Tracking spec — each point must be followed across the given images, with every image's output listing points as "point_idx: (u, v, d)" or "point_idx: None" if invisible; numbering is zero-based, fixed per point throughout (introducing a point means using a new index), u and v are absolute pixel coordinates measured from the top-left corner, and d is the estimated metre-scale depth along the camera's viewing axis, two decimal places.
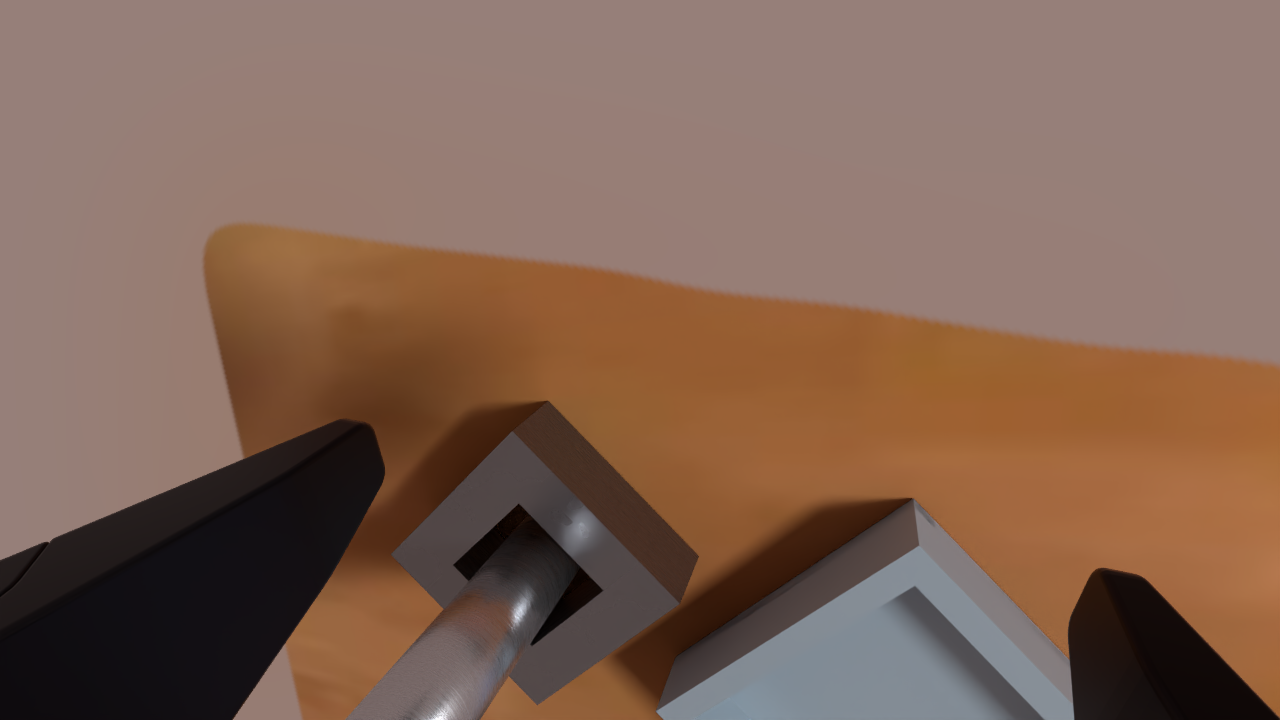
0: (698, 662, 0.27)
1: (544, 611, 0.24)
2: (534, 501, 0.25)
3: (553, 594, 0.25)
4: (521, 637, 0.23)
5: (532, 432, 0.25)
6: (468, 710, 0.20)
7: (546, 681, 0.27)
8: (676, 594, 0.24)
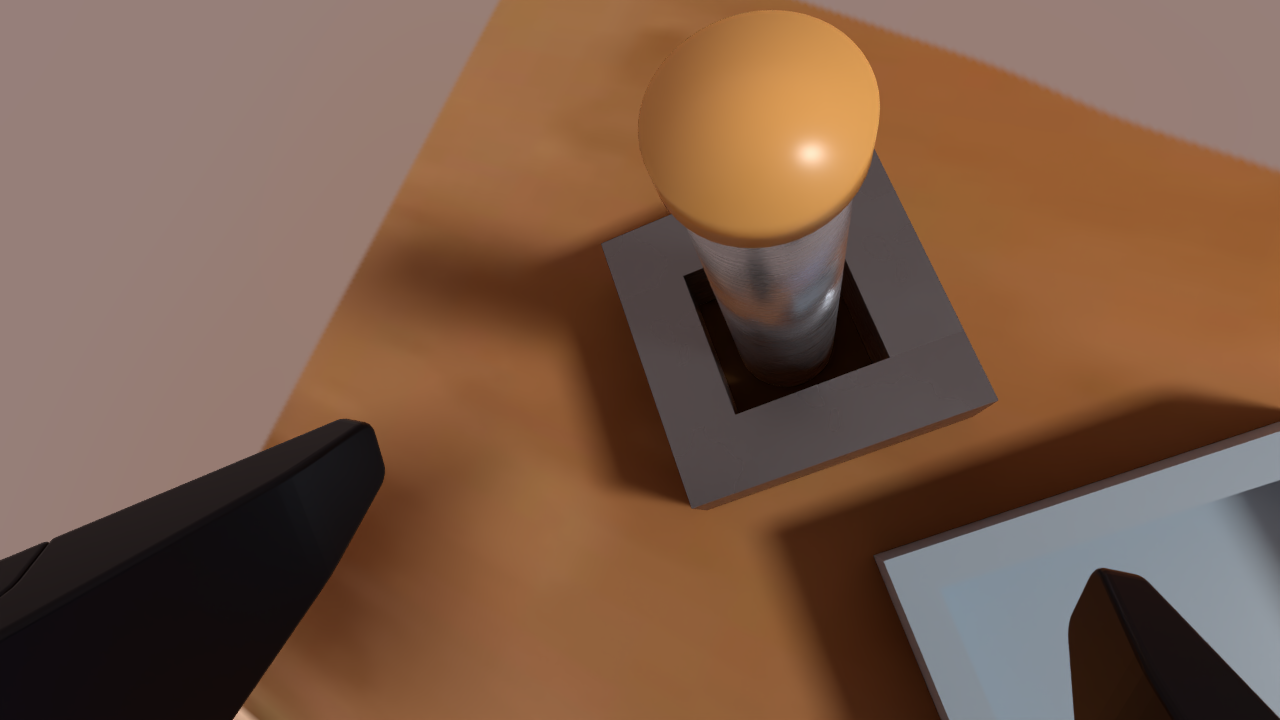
0: (945, 536, 0.19)
1: (833, 320, 0.18)
2: (850, 219, 0.20)
3: (834, 324, 0.18)
4: (840, 290, 0.16)
5: None
6: (848, 230, 0.13)
7: (728, 473, 0.19)
8: (991, 392, 0.18)
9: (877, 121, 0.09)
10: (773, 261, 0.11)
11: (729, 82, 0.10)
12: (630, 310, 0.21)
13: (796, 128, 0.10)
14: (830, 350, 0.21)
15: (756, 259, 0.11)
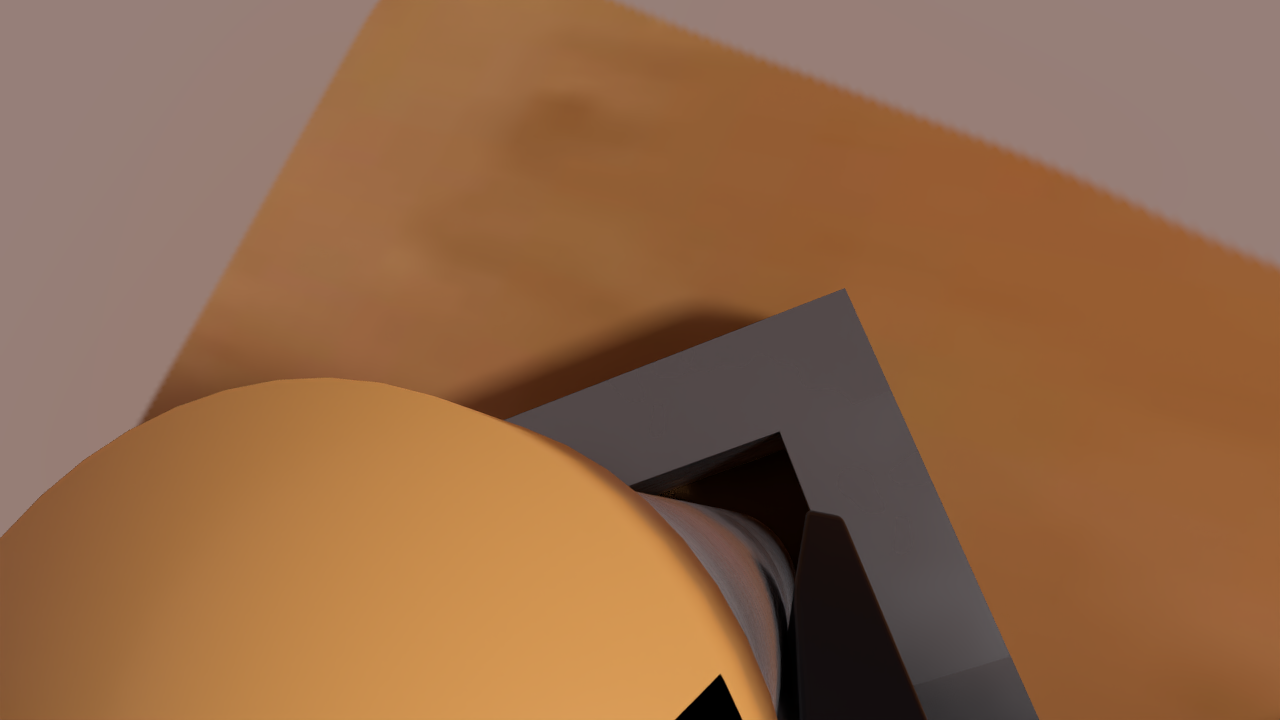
0: None
1: None
2: (818, 437, 0.12)
3: None
4: None
5: None
6: None
7: None
8: None
9: None
10: None
11: (178, 705, 0.02)
12: None
13: None
14: None
15: None
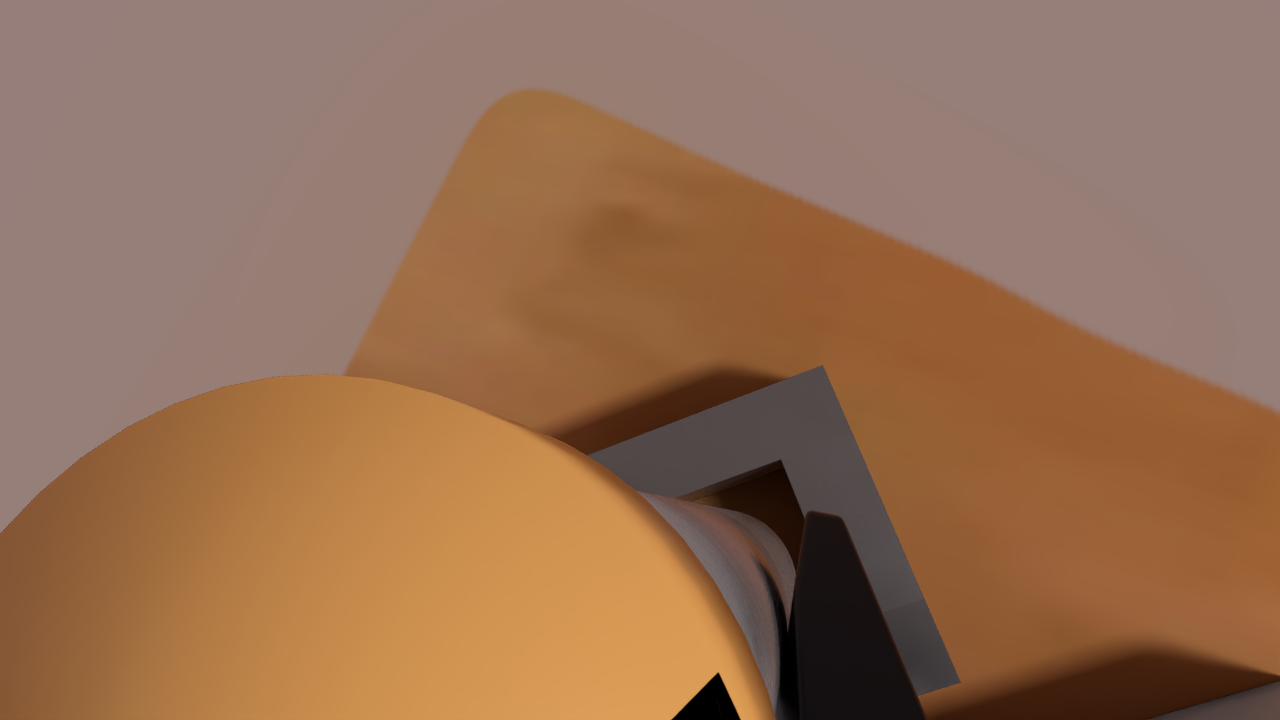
0: None
1: None
2: (805, 463, 0.19)
3: None
4: None
5: None
6: None
7: None
8: (953, 669, 0.17)
9: None
10: None
11: (177, 701, 0.02)
12: None
13: None
14: None
15: None
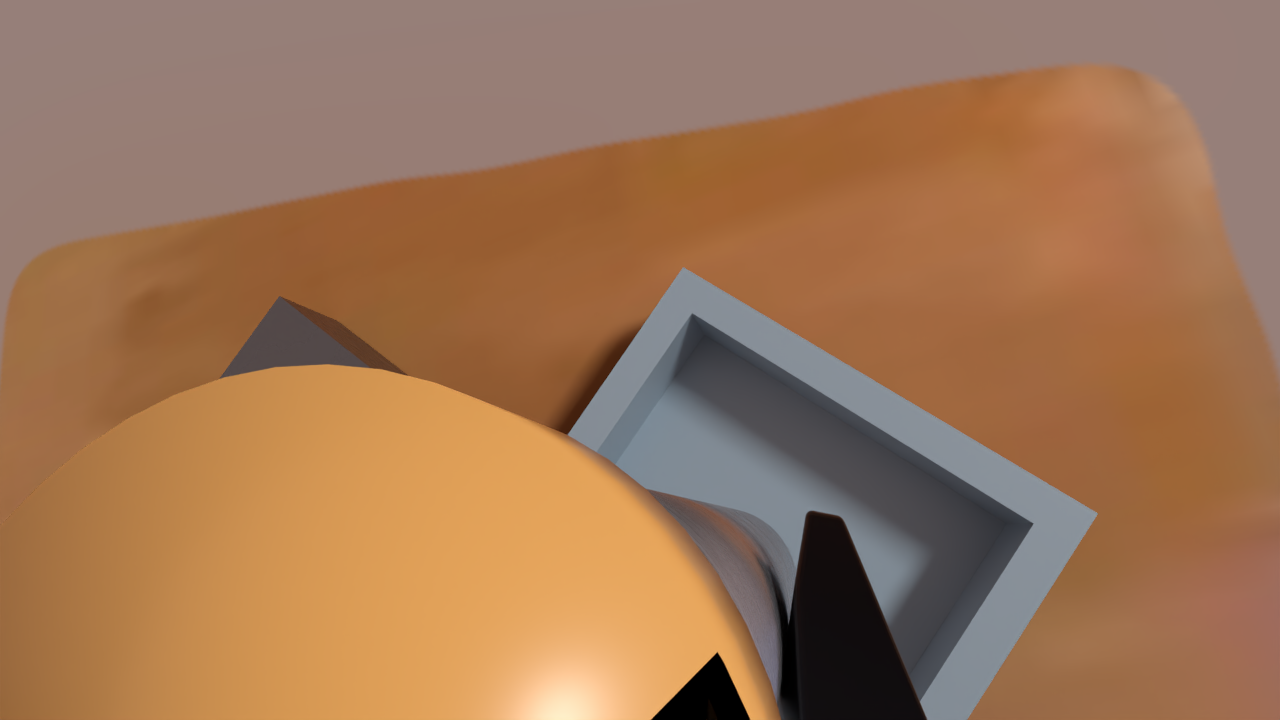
0: None
1: None
2: None
3: None
4: None
5: (305, 310, 0.24)
6: None
7: None
8: None
9: None
10: None
11: (178, 691, 0.02)
12: None
13: None
14: None
15: None
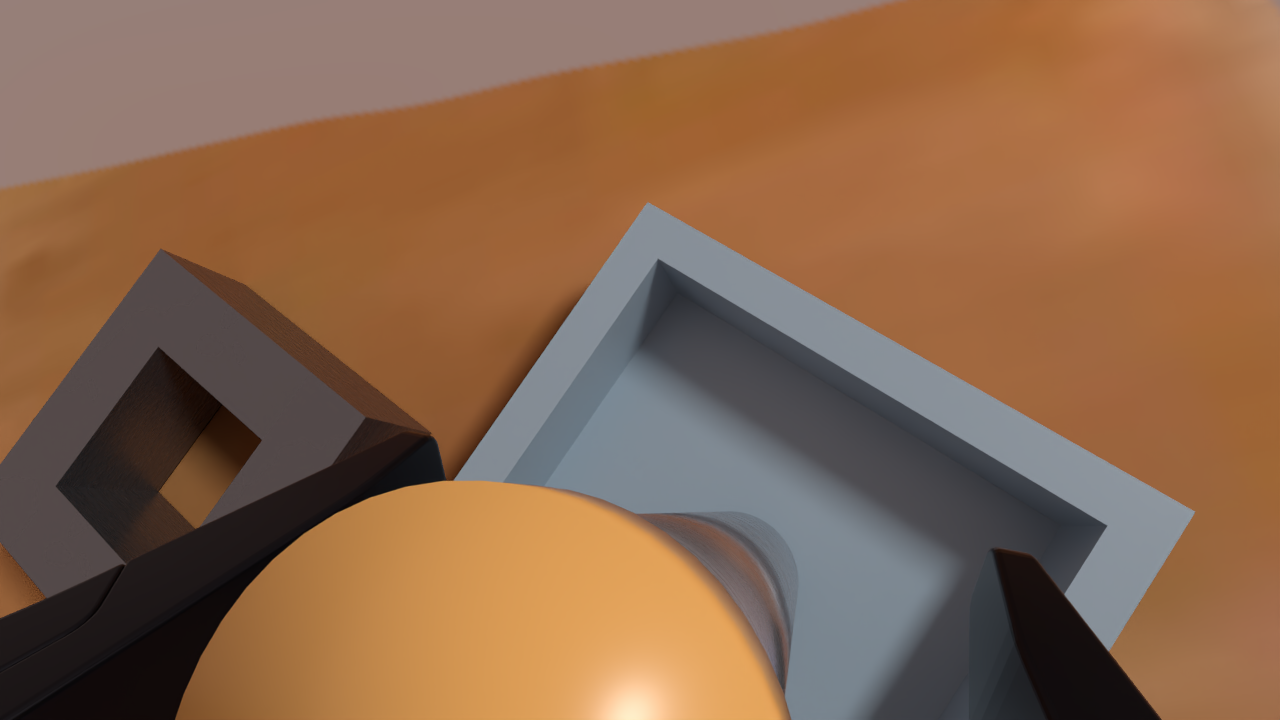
0: None
1: None
2: (178, 335, 0.18)
3: None
4: None
5: (196, 267, 0.20)
6: None
7: None
8: (364, 412, 0.17)
9: None
10: None
11: (390, 704, 0.04)
12: (19, 554, 0.18)
13: None
14: None
15: None
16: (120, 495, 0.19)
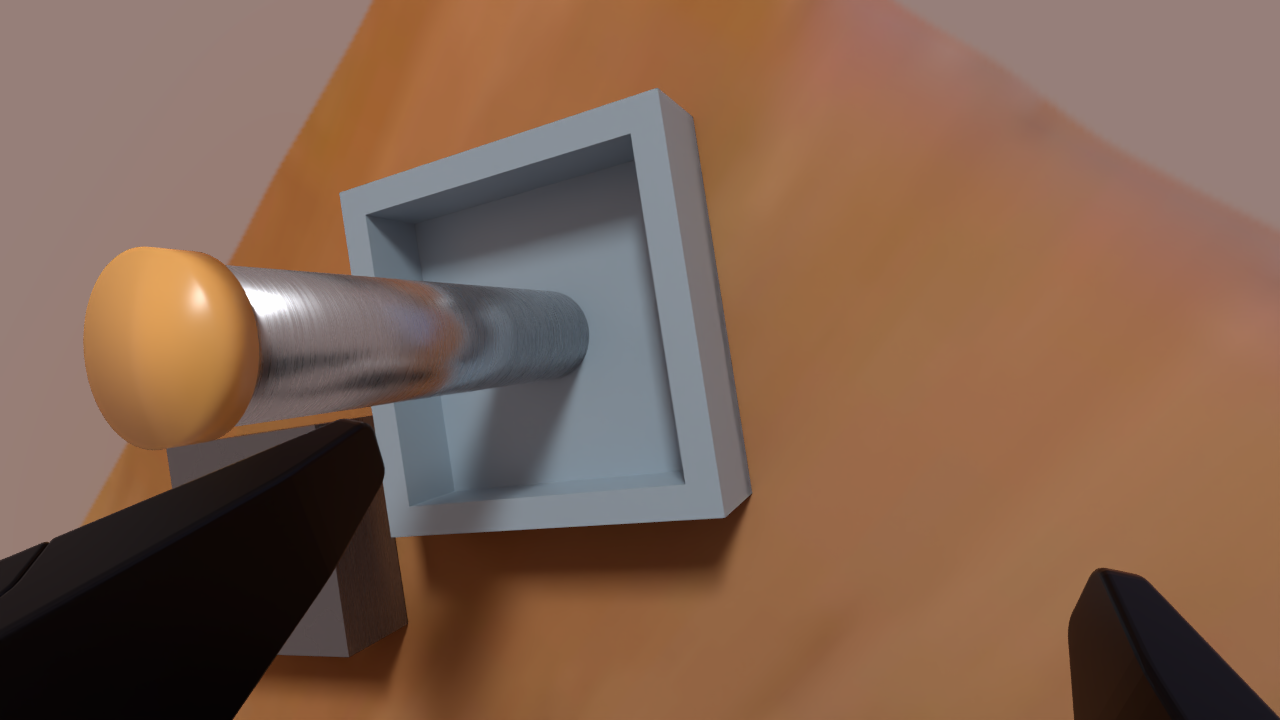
0: None
1: (509, 322, 0.19)
2: None
3: (523, 318, 0.20)
4: (467, 312, 0.17)
5: None
6: (367, 306, 0.14)
7: (332, 621, 0.25)
8: (314, 425, 0.25)
9: (197, 293, 0.11)
10: (295, 398, 0.13)
11: (120, 338, 0.12)
12: None
13: (168, 337, 0.11)
14: (569, 321, 0.22)
15: (281, 408, 0.13)
16: None
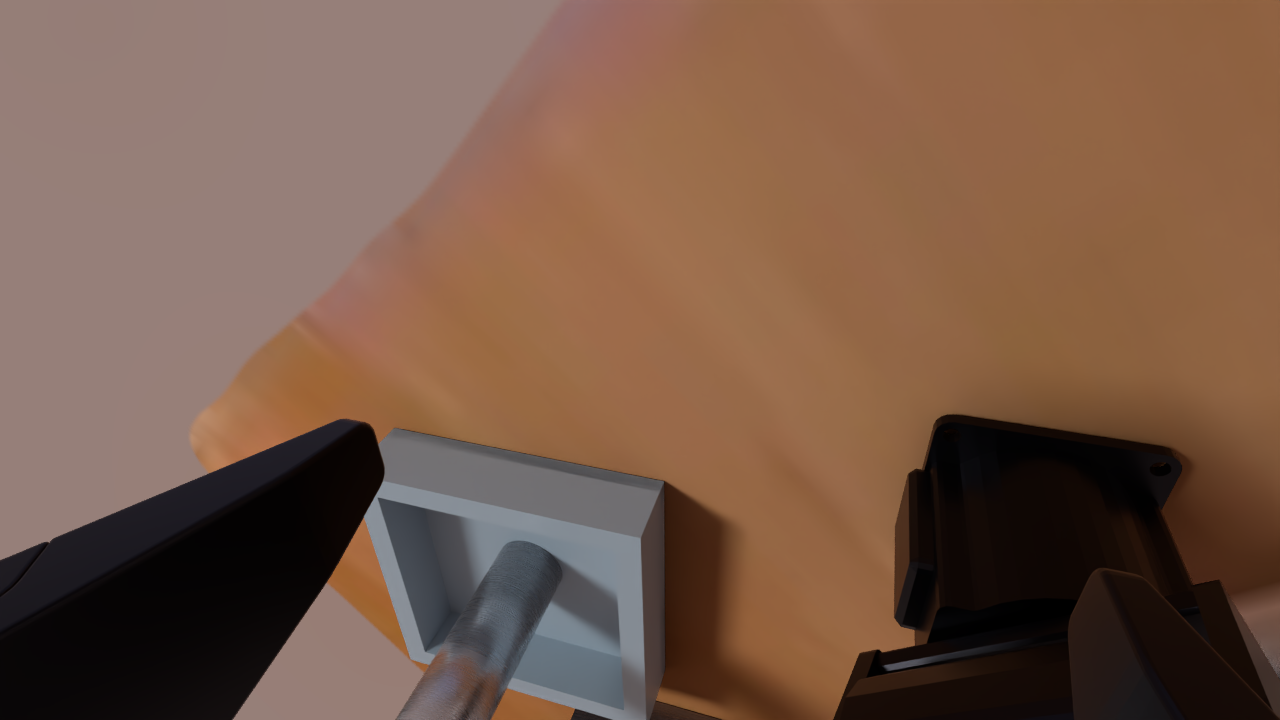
0: None
1: (471, 628, 0.27)
2: None
3: (478, 611, 0.27)
4: (442, 666, 0.25)
5: None
6: None
7: None
8: None
9: None
10: None
11: None
12: None
13: None
14: (510, 561, 0.29)
15: None
16: None
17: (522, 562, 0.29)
